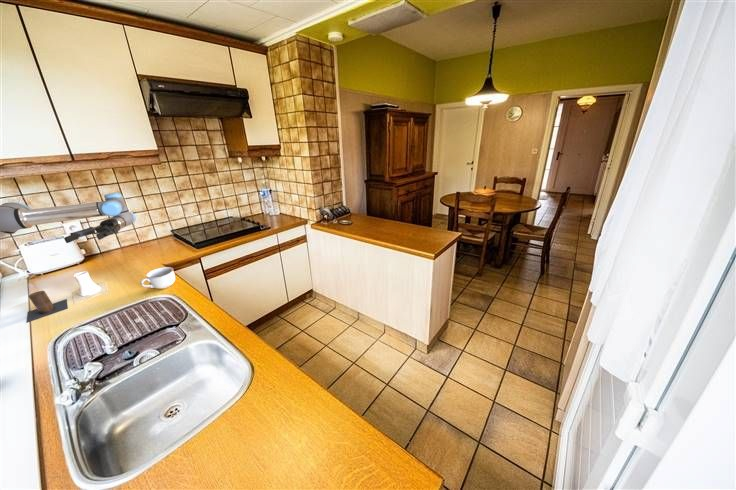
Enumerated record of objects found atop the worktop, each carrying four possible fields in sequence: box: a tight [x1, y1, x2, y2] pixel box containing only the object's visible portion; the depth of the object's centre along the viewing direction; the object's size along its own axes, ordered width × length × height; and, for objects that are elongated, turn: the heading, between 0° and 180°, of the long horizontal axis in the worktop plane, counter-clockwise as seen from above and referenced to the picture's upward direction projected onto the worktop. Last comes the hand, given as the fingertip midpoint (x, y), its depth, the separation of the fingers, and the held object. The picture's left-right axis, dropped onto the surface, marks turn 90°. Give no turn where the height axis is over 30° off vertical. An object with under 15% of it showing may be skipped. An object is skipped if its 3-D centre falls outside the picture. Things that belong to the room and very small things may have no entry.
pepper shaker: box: [27, 290, 55, 314], centre depth 114 cm, size 5×5×9 cm
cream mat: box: [71, 281, 110, 305], centre depth 129 cm, size 16×12×1 cm
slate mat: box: [25, 298, 69, 324], centre depth 116 cm, size 12×12×1 cm
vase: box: [73, 271, 101, 296], centre depth 127 cm, size 8×8×10 cm
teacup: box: [140, 266, 177, 290], centre depth 129 cm, size 14×11×8 cm
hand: (82, 238), depth 128 cm, fingers open, 13 cm apart
